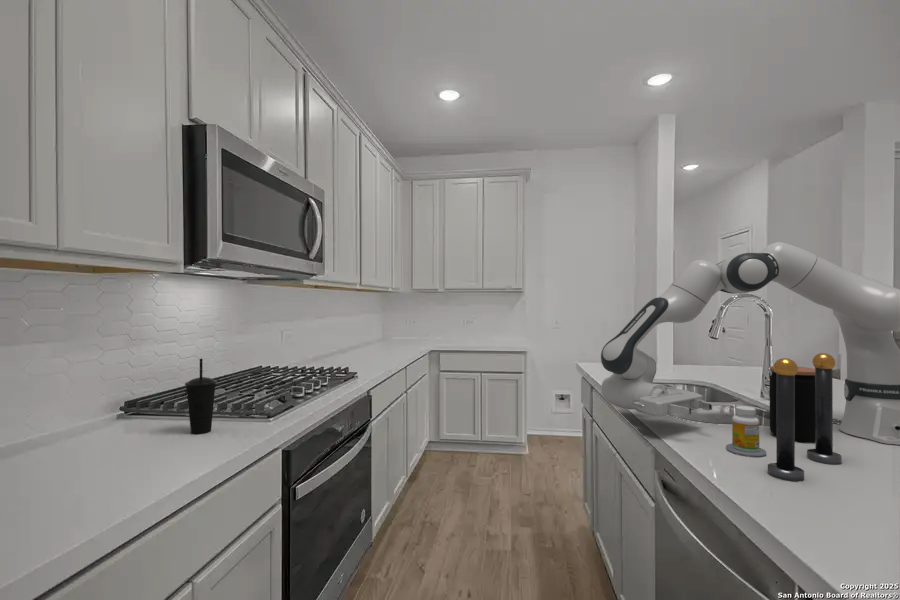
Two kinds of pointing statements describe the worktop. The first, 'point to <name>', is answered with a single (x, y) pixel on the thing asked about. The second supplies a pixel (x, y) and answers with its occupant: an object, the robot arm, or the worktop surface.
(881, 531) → the worktop surface
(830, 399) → the post
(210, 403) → the drinking cup
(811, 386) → the coffee jar
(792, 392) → the post
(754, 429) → the supplement bottle
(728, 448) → the slate mat
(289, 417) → the worktop surface
